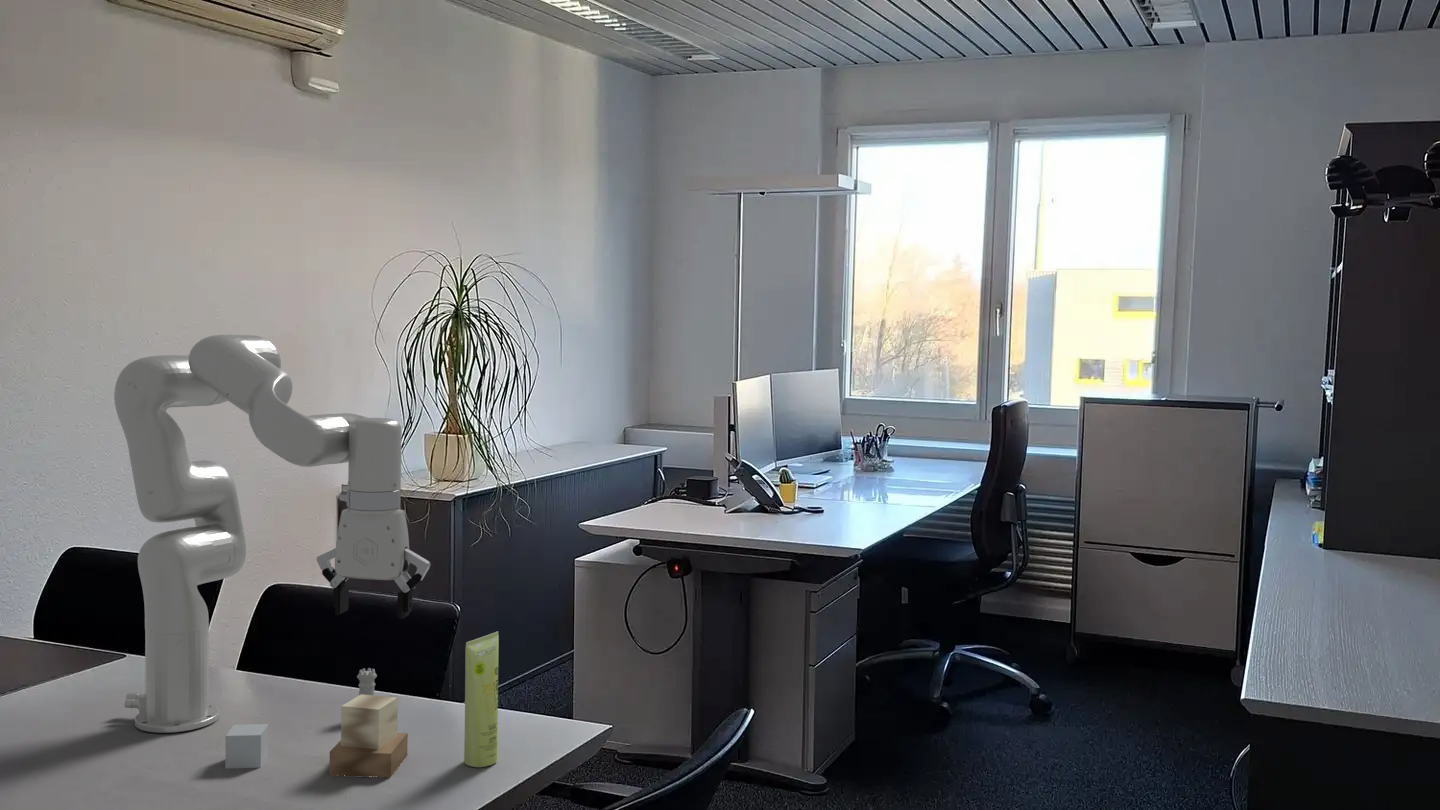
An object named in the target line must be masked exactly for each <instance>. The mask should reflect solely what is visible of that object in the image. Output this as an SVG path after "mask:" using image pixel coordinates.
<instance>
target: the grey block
mask: <svg viewBox="0 0 1440 810" xmlns="http://www.w3.org/2000/svg"><path fill="white" fill-rule="evenodd" d="M268 758H269V723H260V724H259V723H256V724H255V723H253V724H252V723H251V724H250V723H249V724H234V725H232V727H231V728H230V730H228V732H227V733H226V734H225V762H224V763H225V769H254V768H255V769H256V768H257V769H259V768H260V769H261V768H262V766H263V765H264V763H265V762H266V760H267V759H268Z"/></svg>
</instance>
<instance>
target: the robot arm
mask: <svg viewBox="0 0 1440 810" xmlns="http://www.w3.org/2000/svg"><path fill="white" fill-rule="evenodd" d="M281 367H282V360H281V356H280V353H279V351H278V349H277V347H276V346H275V345H274V344H273V343H272V341H269V340H268V339H267V338H265V337H263V336H258V335H251V334H216V335H210V336H207V337H204V338H202V339H200V340H199V341H198V342H196V343H195V344H194V346H192V347H191V349H190V351H189V354H187V355H181V354H180V355H178V354H177V355H175V354H174V355H173V354H167V355H165V354H164V355H152V356H145V357H140V358H138V359H135V360H133V361H131V362H130V363H128V364H127V365H126V366H125V367H124V368H123V369H122V370H121V371H120V373H119V374H118V376H117V379H116V381H115V382H116V383H115V386H114V395H113V396H114V397H113V399H114V406H115V411H116V415H117V418H118V421H119V423H120V426H121V429H122V431H123V433H124V438H125V440H126V444H127V448H128V455H129V461H130V465H131V466H130V467H131V472H132V478H133V483H134V490H135V494H136V500H137V504H138V508H139V511H140V513H141V514H142V517H144V518H145V519H146V520H147V521H150V522H152V523H158V524H159V523H173V522H179V521H187V520H192V519H194V520H193V521H194V522H195V523H194V524H195V526H191V527H189V526H188V527H185V528H177V529H172V530H168V531H163V532H160V533H158V534H155V535H153V536H152V537H150V538H149V539H147V540H146V541H145V542H144V543H143V544H142V545H141V547H140V549H139V551H138V555H137V568H138V574H139V578H140V579H139V580H140V583H141V587H142V594H143V595H142V596H143V602H144V603H143V604H144V630H145V631H144V633H145V635H144V636H145V637H144V639H145V644H144V646H145V647H144V648H145V649H144V650H145V651H144V655H145V656H144V657H145V659H144V662H145V665H144V666H145V668H144V669H145V670H144V673H145V675H144V677H145V679H144V683H145V684H144V685H145V686H144V689H145V691H144V693H141V692H133V691H132V692H128V693H127V694H126V696H125V700H124V708H128V709H137V710H138V714H137V715H136V716H135V717H134V726H135V727H136V728H137V729H139V730H141V731H143V732H144V731H145V732H148V733H156V734H158V733H159V734H161V733H162V734H163V733H164V734H165V733H166V734H167V733H168V734H169V733H180V732H188V731H192V730H197V729H200V728H203V727H204V728H205V727H206V726H210V725H211V724H213V723H215V722H216V721H217V720H218V719H219V717H220V711H219V708H218V707H216V706H214V704H213V705H212V704H210V698H209V697H210V695H209V694H210V693H209V691H210V689H209V688H210V686H209V684H210V683H209V682H210V681H209V680H210V678H209V677H210V674H209V672H210V669H209V668H210V665H209V664H210V662H209V661H210V657H209V656H210V654H209V653H210V650H209V649H210V646H209V645H210V636H209V635H210V632H209V629H210V622H209V621H210V618H209V609H208V606H207V604H206V602H205V599H204V598H203V597H202V595H201V593H200V591H199V589H198V586H199V585H202V584H206V583H211V582H216V581H220V580H223V579H227V578H229V577H233V576H235V575H236V574H237V573H238V572H239V571H240V570H241V569H242V568H243V566H244V563H245V561H246V556H247V555H246V554H247V545H246V537H245V531H244V527H243V520H242V514H241V508H240V503H239V498H238V492H237V488H236V484H235V482H234V479H233V477H232V476H231V473H230V472H229V471H228V470H227V469H226V468H225V467H224V465H222V464H220V463H218V462H216V461H213V460H206V459H205V460H203V459H202V460H195V461H190V459H189V455H188V450H187V445H186V440H185V436H184V433H183V430H181V428H180V426H179V424H178V423H177V422H176V421H175V420H174V418H173V417H172V416H171V415H170V414H169V413H168V412H167V410H168V409H169V408H170V409H171V408H187V407H188V408H189V407H206V406H207V407H209V406H213V405H219V404H223V403H226V402H229V403H231V404H232V405H233V406H235V407H237V408H238V409H239V410H241V411H242V412H244V413H245V414H247V415H248V421H249V424H250V427H251V429H252V432H253V434H254V436H255V437H256V439H257V441H258V442H259V443H260V444H261V445H263V446H264V447H265V448H267V449H269V451H271V452H273V453H274V454H275V455H277V456H279V457H280V458H281V459H282V460H284V461H286V462H288V463H290V464H292V465H295V466H299V467H302V468H303V467H304V468H310V467H320V466H325V465H335V464H336V465H337V464H343V463H344V464H345V463H348V474H347V475H348V476H347V480H348V481H347V488H346V491H340V492H339V501H342V502H343V501H344V502H346V507H347V508H345V509H342V510H341V514H340V518H339V524H338V529H337V533H336V542H335V548H333V549H331V550H329V551H326V552H325V553H323V554H320V555H319V556H317V557H316V562H317V564H318V566H319V569H320V570H321V574H322V575H323V577H324V579H326V580H327V582H328V583H329V586H330V587H331V588H332V591H333V593H332V606H333V608H334V614H335V615H336V616H337V615H338V616H339V615H341V614H343V613H345V612H347V611H349V600H350V599H349V598H350V597H349V594H350V593H349V591H350V590H349V589H350V586H349V584H347V583H346V582H347V581H348V580H349V579H358V580H372V581H373V580H375V581H376V580H377V581H393V582H395V584H396V585H397V586H398V588H399V589H400V591H399V592H398V593H397V602H396V603H397V605H396V606H397V607H396V609H397V611H396V612H397V614H396V615H397V617H396V618H398V619H400V620H402V619H405V618H407V617H408V616H409V615H410V613H411V612H412V611H413V591H414V590H413V589H416V586H418V585H419V584H420V583H421V582H422V581H423V580H424V579H425V576H426V575H427V572H428V571H429V569H430V567H431V565H432V564H431V562H430V561H429V560H427V559H426V558H424V557H422V556H421V555H419V554H418V553H415V552H414V551H412V550H411V549H410V540H409V539H410V538H409V529H408V523H407V518H406V517H407V516H406V513H405V510H404V509H401V492H402V491H401V487H402V482H401V481H402V436H403V434H402V426H401V424H400V422H399V421H398V420H396V419H392V418H387V417H368V416H363V415H359V414H357V413H356V414H355V413H348V412H347V413H346V412H344V413H343V412H342V413H341V412H340V413H327V414H323V413H322V414H312V415H305V414H302V413H300V412H299V411H297V410H295V409H294V408H292V407H290V405H288V403H289V402H290V400H291V398H292V393H293V381H292V379H291V377H290V376H289V374H288V373H287V372H286V371H284V370H283V369H281ZM332 559H334V567H332V563H331V561H332ZM410 564H412V565H414V566H416V567H415V568H416V571H415V573H414V574H413V576H412V577H411V574H410V573H408V572H409V569H410Z"/></svg>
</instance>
